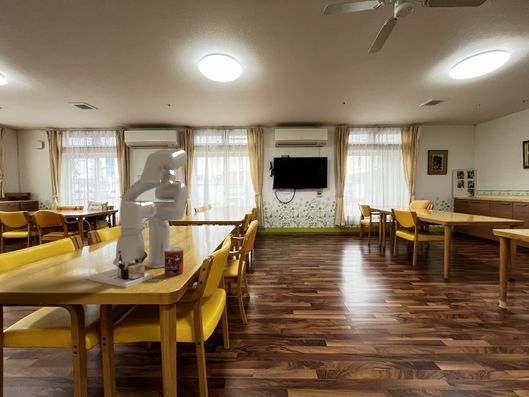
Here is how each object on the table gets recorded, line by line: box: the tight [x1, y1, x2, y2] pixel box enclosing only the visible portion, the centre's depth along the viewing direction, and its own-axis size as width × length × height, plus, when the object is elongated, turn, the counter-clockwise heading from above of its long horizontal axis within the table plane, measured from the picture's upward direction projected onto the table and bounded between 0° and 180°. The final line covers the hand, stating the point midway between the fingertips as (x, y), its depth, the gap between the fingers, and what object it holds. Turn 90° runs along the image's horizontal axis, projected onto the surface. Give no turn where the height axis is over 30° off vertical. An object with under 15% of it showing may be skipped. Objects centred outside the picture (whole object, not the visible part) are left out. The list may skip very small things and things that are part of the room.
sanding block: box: [117, 261, 146, 280], centre depth 98 cm, size 5×9×5 cm, turn 67°
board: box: [88, 267, 154, 288], centre depth 100 cm, size 12×22×2 cm, turn 67°
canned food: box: [164, 246, 184, 277], centre depth 107 cm, size 8×8×11 cm
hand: (131, 276), depth 98 cm, fingers closed on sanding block, 5 cm apart
